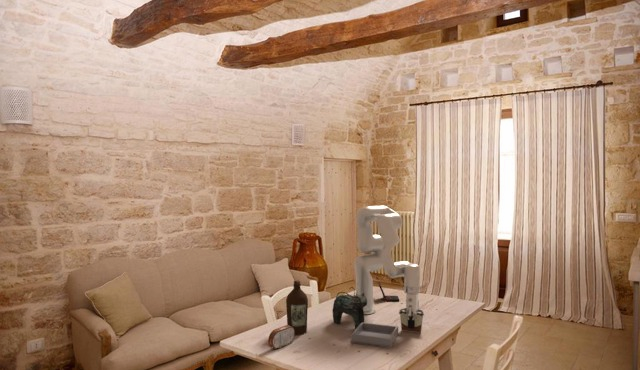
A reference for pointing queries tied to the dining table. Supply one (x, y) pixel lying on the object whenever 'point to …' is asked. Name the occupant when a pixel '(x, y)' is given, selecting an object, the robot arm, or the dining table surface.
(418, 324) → the food container
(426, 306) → the dining table surface
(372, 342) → the tray
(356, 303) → the teal animal figurine
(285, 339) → the tin
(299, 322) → the olive oil
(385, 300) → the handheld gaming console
